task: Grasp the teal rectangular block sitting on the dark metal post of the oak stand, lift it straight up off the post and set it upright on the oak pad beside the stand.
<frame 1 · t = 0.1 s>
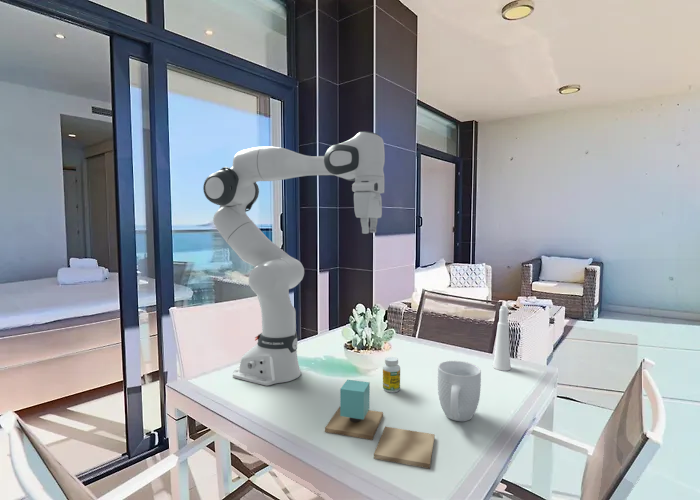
hand: (369, 233, 120), 48 cm above the table, tool pointing down, fingers open, 8 cm apart
teal rectangular block: (355, 412, 100), point 3 cm above the table, touching post stand
supplement bottle: (391, 389, 121), on the table
cosmetic bottle: (501, 368, 139), on the table
mug: (457, 418, 104), on the table
post stand: (355, 423, 101), on the table
oak pad: (405, 447, 90), on the table
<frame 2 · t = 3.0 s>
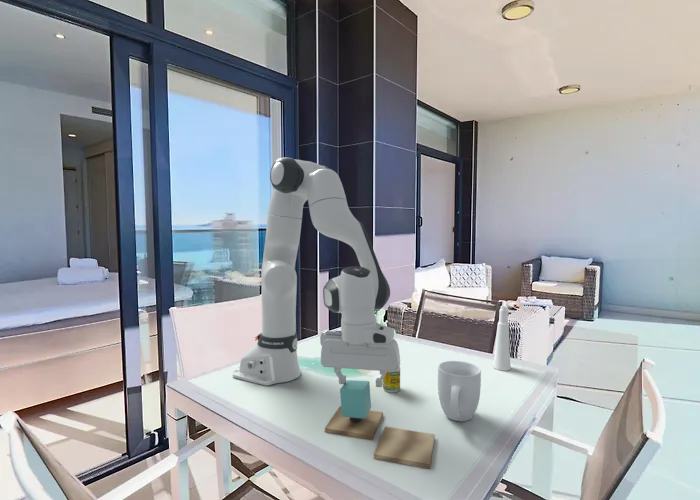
hand: (360, 384, 100), 10 cm above the table, tool pointing down, fingers open, 8 cm apart
teal rectangular block: (356, 412, 100), point 3 cm above the table, touching gripper, post stand
everything else where it was.
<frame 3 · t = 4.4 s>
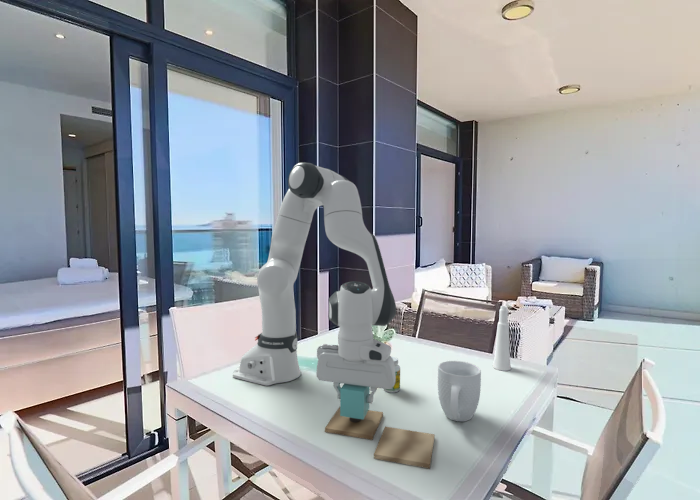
hand: (355, 400, 100), 6 cm above the table, tool pointing down, fingers closed on teal rectangular block, 6 cm apart
teal rectangular block: (354, 412, 100), point 3 cm above the table, touching gripper, post stand
everything else where it was.
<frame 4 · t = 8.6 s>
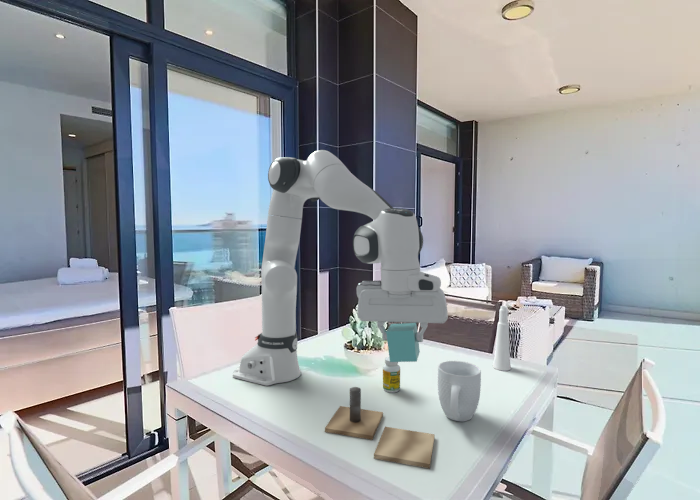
hand: (402, 340, 90), 25 cm above the table, tool pointing down, fingers closed on teal rectangular block, 6 cm apart
teal rectangular block: (405, 356, 90), point 21 cm above the table, tilted 7°, touching gripper
everything else where it was.
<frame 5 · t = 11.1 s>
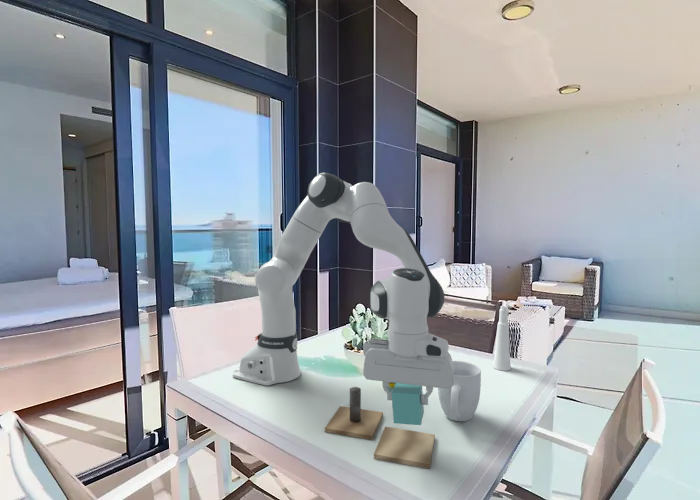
hand: (407, 401, 89), 11 cm above the table, tool pointing down, fingers closed on teal rectangular block, 6 cm apart
teal rectangular block: (409, 417, 90), point 7 cm above the table, touching gripper
everything else where it was.
when the fingers open (6 cm above the table, at t = 13.2 s): teal rectangular block stays where it is, resting on oak pad.
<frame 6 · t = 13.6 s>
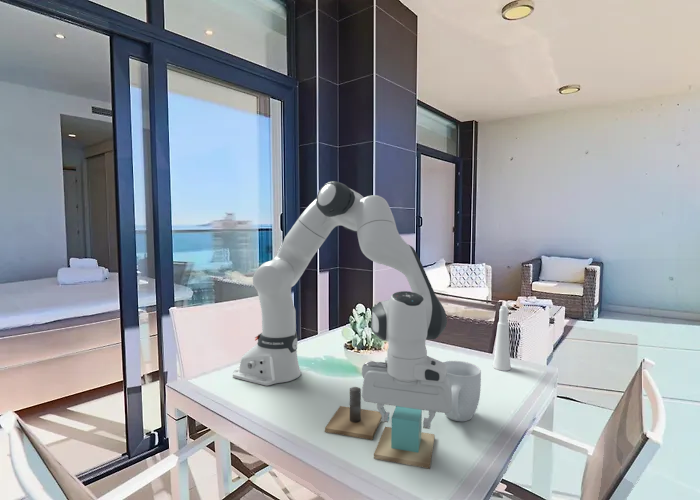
hand: (405, 424, 90), 6 cm above the table, tool pointing down, fingers open, 8 cm apart
teal rectangular block: (406, 443, 90), point 1 cm above the table, touching oak pad
everything else where it was.
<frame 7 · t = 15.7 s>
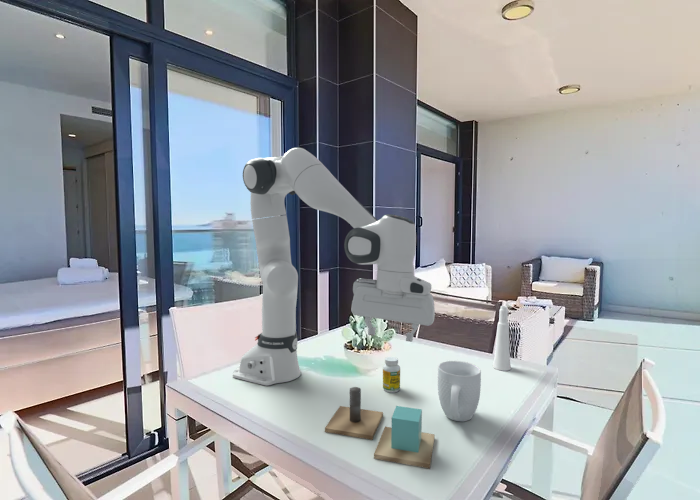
hand: (390, 337, 97), 23 cm above the table, tool pointing down, fingers open, 8 cm apart
nothing on the table moved.
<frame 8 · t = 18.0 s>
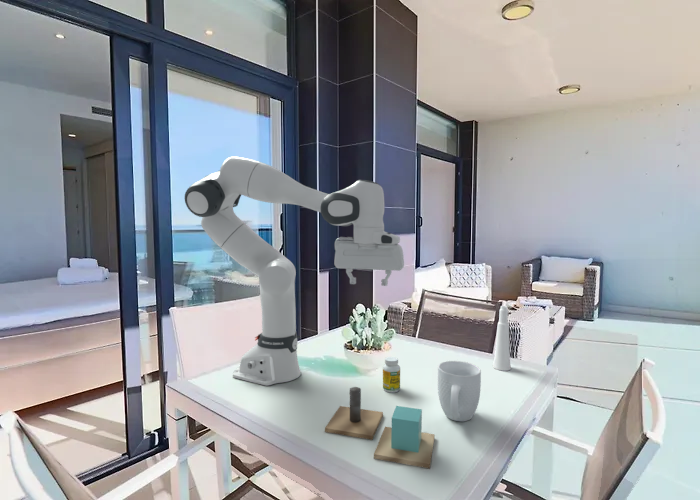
hand: (368, 284, 115), 33 cm above the table, tool pointing down, fingers open, 8 cm apart
nothing on the table moved.
at the end: teal rectangular block inside the target area on the oak pad (0.4 cm from its centre), point 1.0 cm above the oak pad's base; teal rectangular block tilted 0°; the gripper is holding nothing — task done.
